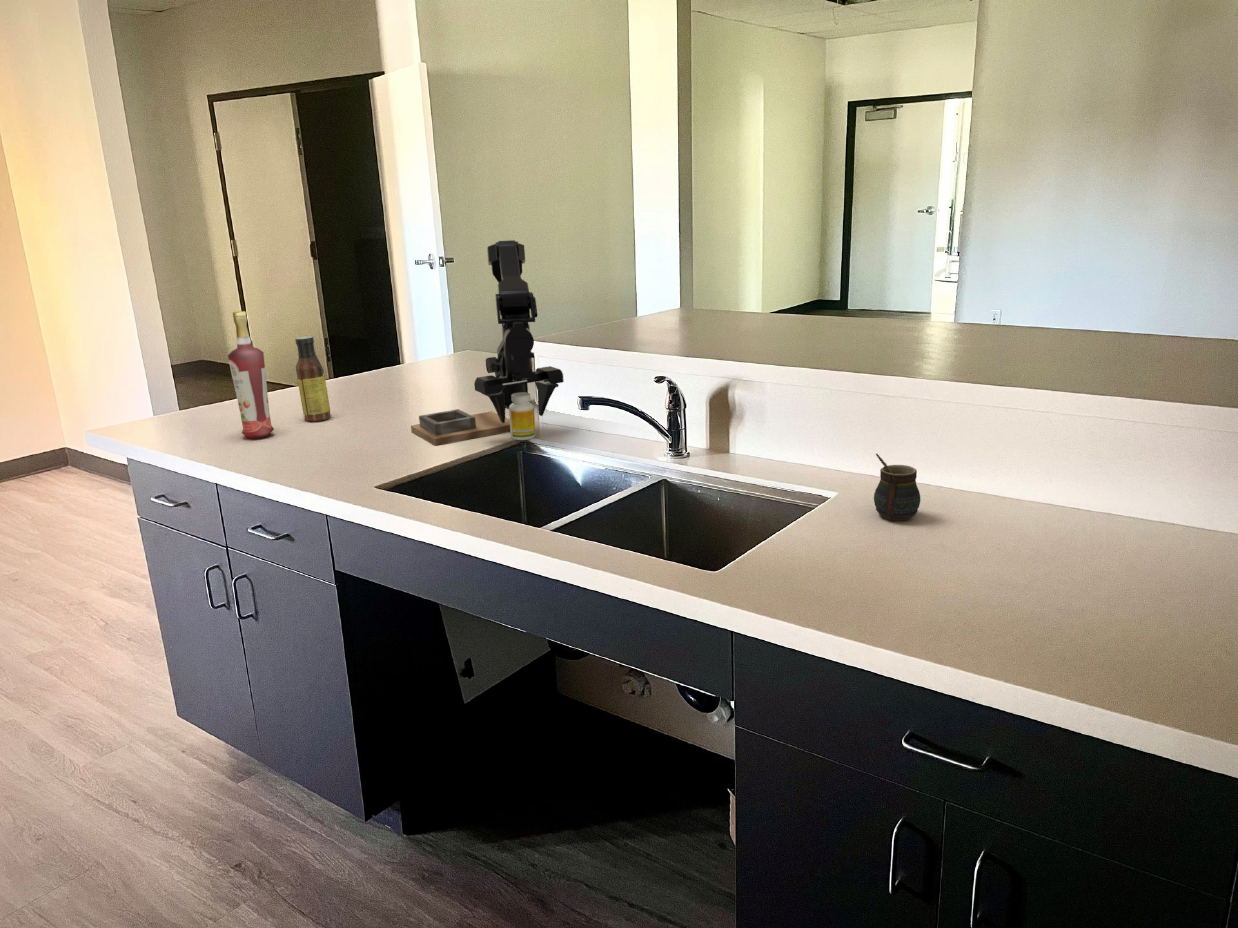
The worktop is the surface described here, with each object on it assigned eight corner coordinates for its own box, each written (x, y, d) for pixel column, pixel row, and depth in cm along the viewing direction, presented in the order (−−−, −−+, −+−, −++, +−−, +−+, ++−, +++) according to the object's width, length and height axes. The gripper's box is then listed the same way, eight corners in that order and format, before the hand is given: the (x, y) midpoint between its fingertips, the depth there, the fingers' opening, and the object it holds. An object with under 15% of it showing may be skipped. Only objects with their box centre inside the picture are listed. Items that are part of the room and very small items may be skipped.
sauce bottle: (336, 417, 218) (326, 335, 212) (318, 423, 213) (307, 340, 207) (315, 415, 221) (304, 334, 215) (297, 421, 216) (285, 338, 210)
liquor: (281, 435, 204) (263, 311, 195) (250, 442, 199) (230, 315, 190) (266, 430, 209) (247, 308, 200) (235, 437, 204) (214, 313, 195)
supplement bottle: (507, 436, 198) (504, 393, 195) (530, 432, 200) (527, 390, 197) (515, 442, 193) (512, 398, 190) (539, 438, 195) (536, 395, 192)
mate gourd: (913, 527, 140) (916, 466, 137) (865, 520, 144) (867, 460, 141) (925, 512, 146) (928, 453, 143) (878, 505, 150) (880, 448, 147)
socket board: (492, 417, 214) (490, 401, 212) (519, 429, 202) (517, 412, 201) (411, 431, 203) (409, 414, 202) (435, 445, 192) (433, 427, 191)
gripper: (538, 337, 202) (542, 405, 206) (461, 348, 192) (467, 418, 197) (563, 344, 193) (566, 414, 198) (483, 355, 183) (488, 429, 188)
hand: (522, 419), depth 195 cm, fingers open, 9 cm apart
